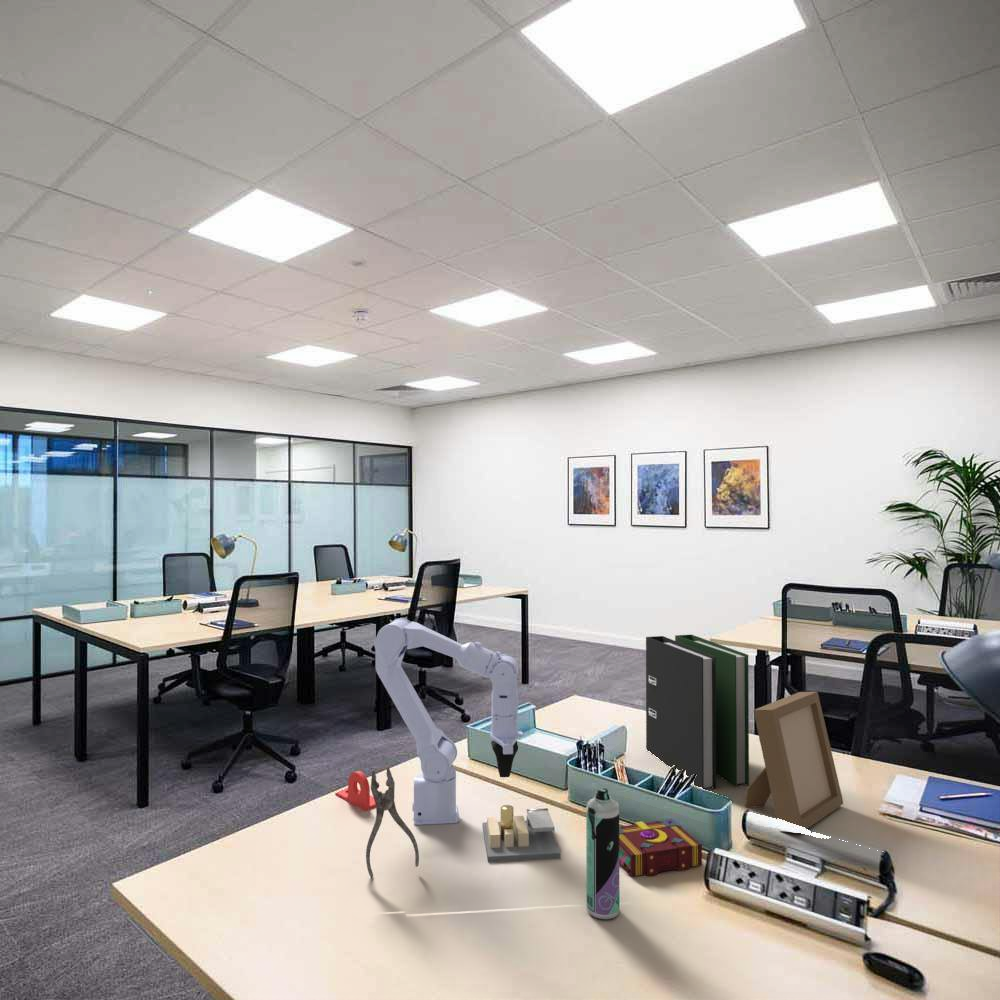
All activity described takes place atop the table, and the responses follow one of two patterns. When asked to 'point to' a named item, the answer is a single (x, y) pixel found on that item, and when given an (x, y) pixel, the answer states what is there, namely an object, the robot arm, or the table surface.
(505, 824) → the pin
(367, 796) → the bracket
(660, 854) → the decorative book
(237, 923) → the table surface
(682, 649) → the binder
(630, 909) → the table surface
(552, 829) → the grey flat plate
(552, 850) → the board
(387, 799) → the pliers
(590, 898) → the spray can
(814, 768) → the photo frame
